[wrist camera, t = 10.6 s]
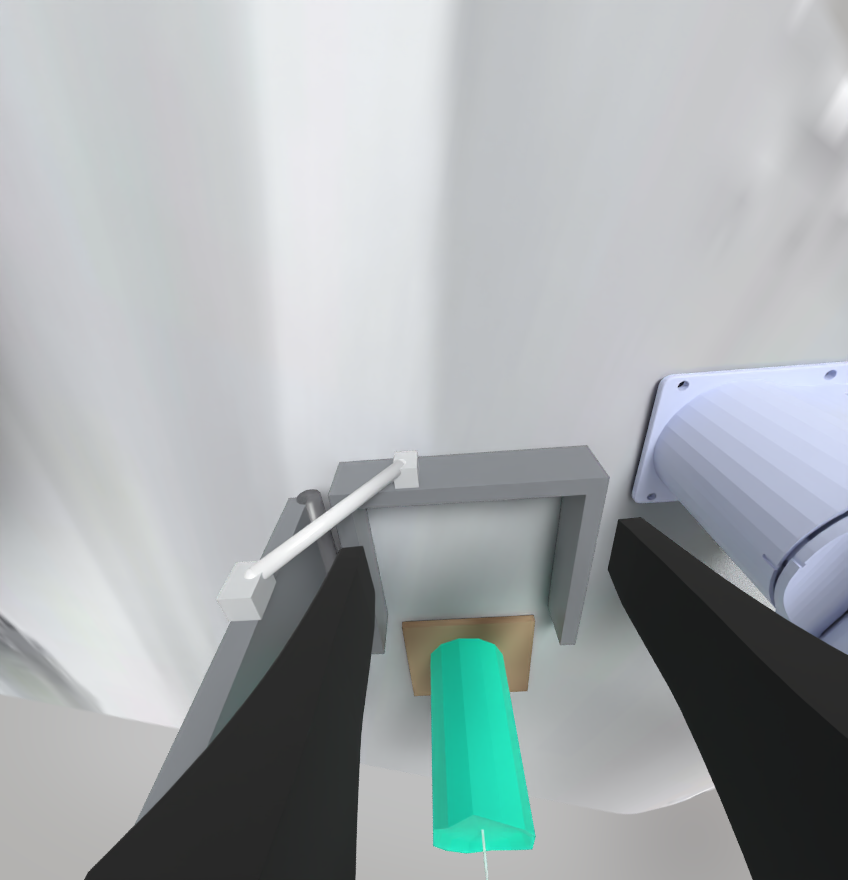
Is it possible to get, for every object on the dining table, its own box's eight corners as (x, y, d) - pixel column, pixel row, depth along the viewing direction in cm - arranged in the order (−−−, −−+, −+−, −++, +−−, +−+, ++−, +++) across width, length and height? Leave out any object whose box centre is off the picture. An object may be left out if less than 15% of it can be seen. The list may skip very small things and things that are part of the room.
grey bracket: (590, 424, 21) (1000, 938, 6) (561, 605, 28) (708, 1021, 14) (297, 444, 21) (17, 956, 7) (347, 616, 29) (270, 1025, 14)
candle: (514, 644, 30) (562, 869, 20) (487, 683, 33) (517, 897, 23) (441, 632, 29) (451, 861, 19) (421, 673, 32) (419, 891, 22)
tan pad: (533, 615, 29) (534, 621, 29) (526, 685, 34) (527, 691, 34) (402, 621, 29) (402, 628, 29) (414, 690, 34) (414, 696, 34)
